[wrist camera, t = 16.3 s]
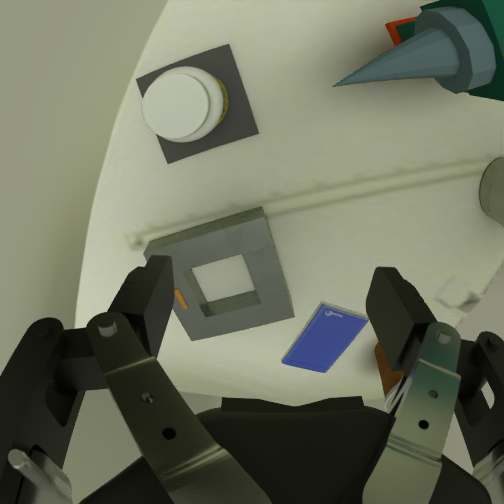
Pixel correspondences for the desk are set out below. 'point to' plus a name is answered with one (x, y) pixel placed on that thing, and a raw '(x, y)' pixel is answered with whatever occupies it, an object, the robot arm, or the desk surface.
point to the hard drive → (324, 337)
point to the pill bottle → (184, 104)
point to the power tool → (445, 48)
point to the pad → (238, 113)
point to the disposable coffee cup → (387, 376)
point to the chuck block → (217, 248)
